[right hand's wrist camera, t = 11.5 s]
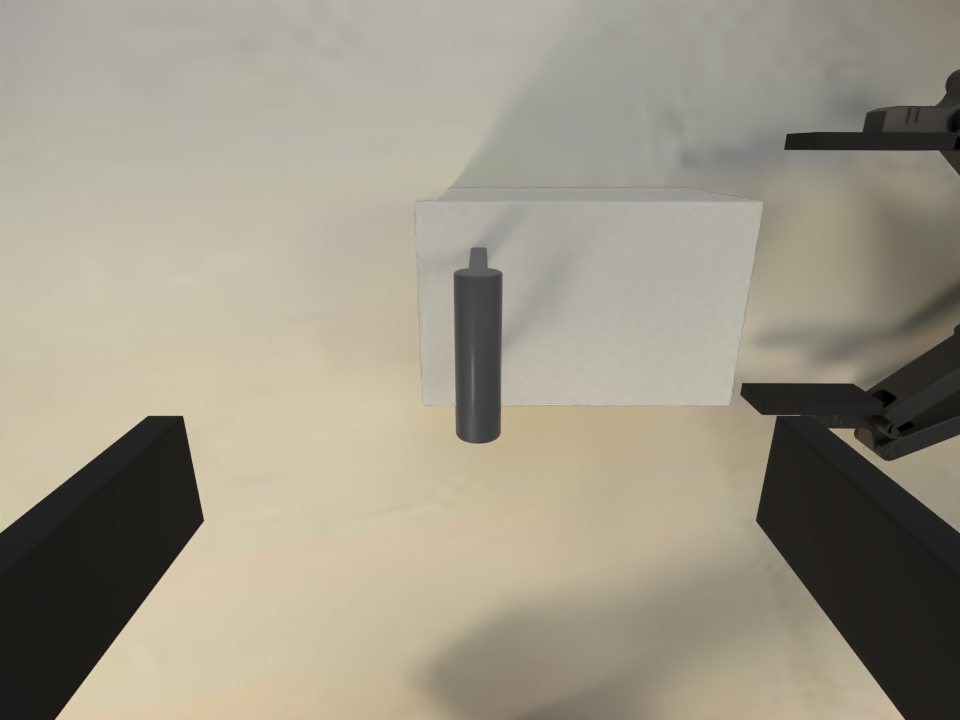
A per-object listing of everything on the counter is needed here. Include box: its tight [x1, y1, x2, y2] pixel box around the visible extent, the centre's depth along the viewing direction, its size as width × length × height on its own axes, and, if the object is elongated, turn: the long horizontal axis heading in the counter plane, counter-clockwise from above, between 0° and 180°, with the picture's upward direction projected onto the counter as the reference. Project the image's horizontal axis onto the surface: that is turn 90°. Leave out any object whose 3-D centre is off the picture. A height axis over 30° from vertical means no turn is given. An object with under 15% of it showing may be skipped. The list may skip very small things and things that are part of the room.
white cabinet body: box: [439, 188, 750, 200], centre depth 31 cm, size 14×10×10 cm
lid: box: [415, 200, 764, 443], centre depth 23 cm, size 15×10×8 cm, turn 90°
